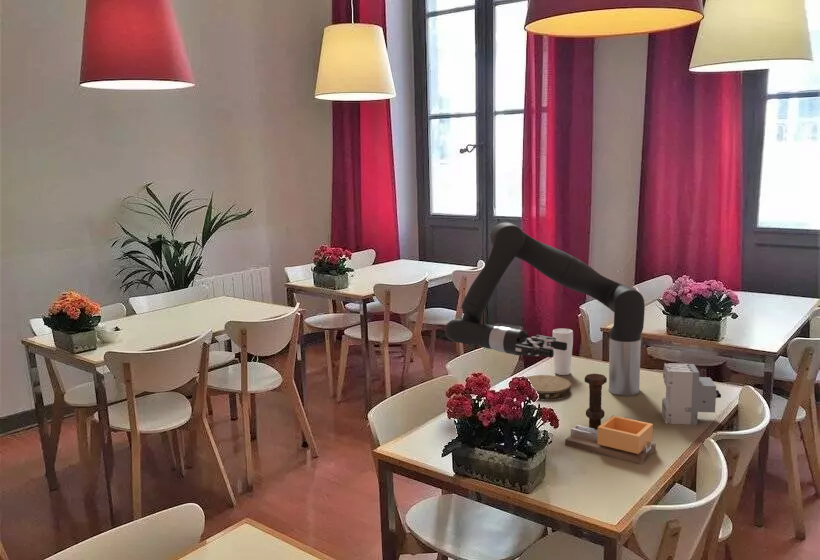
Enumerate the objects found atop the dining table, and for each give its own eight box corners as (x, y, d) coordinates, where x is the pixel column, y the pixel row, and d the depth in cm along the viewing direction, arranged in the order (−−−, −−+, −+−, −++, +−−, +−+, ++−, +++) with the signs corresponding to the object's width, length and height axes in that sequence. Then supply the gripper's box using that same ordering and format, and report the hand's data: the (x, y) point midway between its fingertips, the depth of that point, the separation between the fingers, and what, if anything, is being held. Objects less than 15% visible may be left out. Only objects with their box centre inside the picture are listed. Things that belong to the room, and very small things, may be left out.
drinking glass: (552, 376, 235) (552, 333, 233) (552, 370, 242) (552, 328, 239) (573, 376, 234) (573, 333, 231) (572, 370, 241) (572, 328, 238)
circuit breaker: (721, 425, 189) (723, 373, 187) (665, 423, 192) (667, 371, 190) (714, 415, 197) (717, 364, 194) (661, 413, 200) (663, 363, 197)
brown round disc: (516, 384, 229) (516, 375, 229) (564, 382, 229) (564, 374, 229) (524, 401, 214) (524, 392, 213) (575, 399, 213) (575, 390, 213)
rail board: (581, 432, 188) (581, 426, 188) (655, 449, 176) (655, 444, 176) (565, 444, 181) (565, 439, 180) (640, 464, 168) (641, 458, 168)
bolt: (580, 427, 192) (581, 374, 189) (595, 423, 194) (596, 372, 191) (594, 434, 187) (594, 381, 184) (609, 431, 188) (610, 378, 186)
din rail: (576, 430, 186) (576, 424, 185) (651, 448, 173) (651, 441, 173) (570, 435, 183) (570, 428, 183) (646, 453, 171) (646, 446, 170)
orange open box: (612, 431, 182) (612, 415, 182) (652, 440, 176) (653, 423, 175) (597, 444, 175) (597, 427, 174) (638, 454, 169) (639, 436, 168)
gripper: (496, 332, 196) (549, 342, 186) (520, 323, 207) (571, 331, 198) (495, 358, 197) (547, 369, 188) (519, 347, 209) (570, 357, 199)
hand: (559, 350), depth 193 cm, fingers open, 8 cm apart
